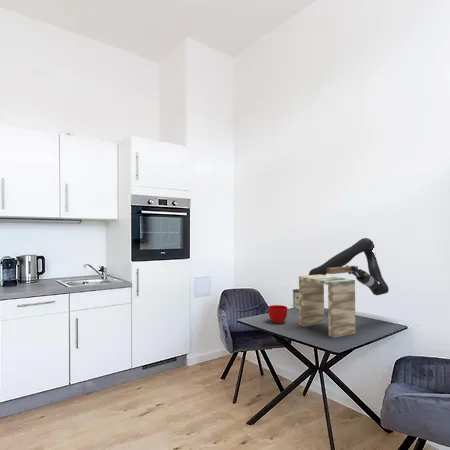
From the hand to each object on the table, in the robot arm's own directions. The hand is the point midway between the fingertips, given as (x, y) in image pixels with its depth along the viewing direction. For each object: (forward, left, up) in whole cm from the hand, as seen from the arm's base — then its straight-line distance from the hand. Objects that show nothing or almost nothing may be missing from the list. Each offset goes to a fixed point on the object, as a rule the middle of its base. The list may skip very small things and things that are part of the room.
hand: (349, 267), depth 216 cm
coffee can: (-57, +20, -39) cm, 72 cm away
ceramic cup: (-41, -22, -39) cm, 61 cm away
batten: (-1, -6, -3) cm, 6 cm away
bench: (-9, -12, -39) cm, 42 cm away
